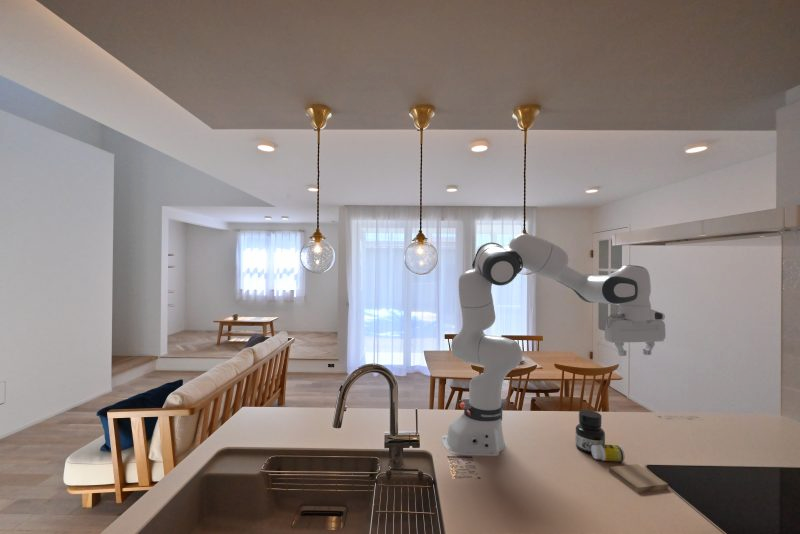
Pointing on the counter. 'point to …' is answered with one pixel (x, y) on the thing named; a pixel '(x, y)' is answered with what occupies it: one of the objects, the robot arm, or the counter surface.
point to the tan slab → (638, 478)
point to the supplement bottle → (608, 452)
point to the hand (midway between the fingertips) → (634, 355)
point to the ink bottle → (589, 431)
